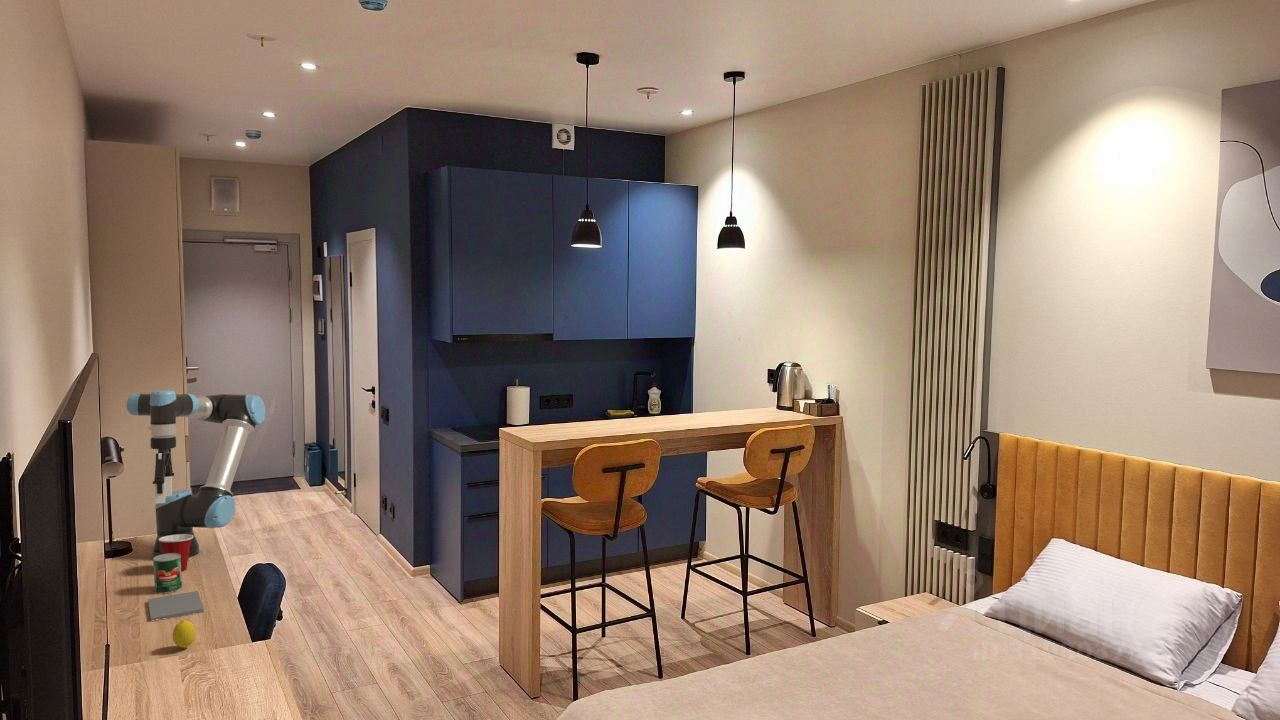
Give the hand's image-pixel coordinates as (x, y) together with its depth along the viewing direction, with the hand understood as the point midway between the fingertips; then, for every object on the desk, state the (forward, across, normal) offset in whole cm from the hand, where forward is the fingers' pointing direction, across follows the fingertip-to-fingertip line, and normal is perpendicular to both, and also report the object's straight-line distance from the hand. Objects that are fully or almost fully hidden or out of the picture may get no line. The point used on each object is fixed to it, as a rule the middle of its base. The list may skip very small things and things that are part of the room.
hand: (163, 499), depth 288 cm
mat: (+29, +28, +7) cm, 41 cm away
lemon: (+31, +62, +14) cm, 71 cm away
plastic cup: (+27, -10, +2) cm, 29 cm away
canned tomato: (+28, +10, +3) cm, 30 cm away
